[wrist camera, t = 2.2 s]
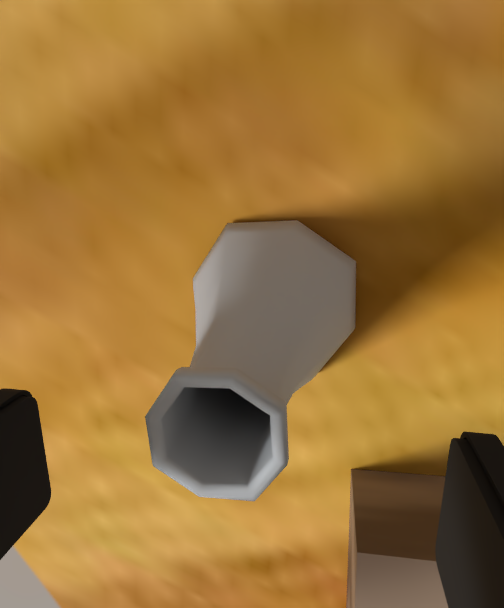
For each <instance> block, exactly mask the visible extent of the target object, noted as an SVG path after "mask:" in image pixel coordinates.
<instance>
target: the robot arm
mask: <svg viewBox="0 0 504 608" xmlns="http://www.w3.org/2000/svg"><path fill="white" fill-rule="evenodd" d="M50 498H51V487H50V481H49V474H48V468H47V462H46V455H45V449H44V443H43V436H42V430H41V423H40V417H39V411H38V404H37V401H36V399H35V398H33V397H32V395H31V394H30V392H28V391H26V390H16V389H1V390H0V560H1V558H2V557H3V556H4V555H5V554H6V553H7V552H8V550H9V549H10V548H11V547H12V546H13V545H14V544H15V543H16V541H17V540H18V539H19V538H20V537H21V536H22V535H23V533H24V532H25V531H26V530H27V529H28V528H29V527H30V526H31V524H32V523H33V522H34V521H35V520H36V519H37V518H38V516H39V515H40V514H41V513H42V512H43V511H44V510H45V508H46V507H47V505H48V503H49V501H50ZM435 554H436V563H437V568H438V571H439V575H440V579H441V582H442V586H443V590H444V593H445V597H446V601H447V604H448V608H504V446H503V445H502V443H501V441H500V440H499V438H498V437H497V436H496V435H493V434H484V433H473V432H463V433H462V435H461V437H460V439H459V438H453V439H452V440H451V444H450V450H449V457H448V463H447V470H446V477H445V484H444V491H443V497H442V504H441V511H440V518H439V525H438V531H437V538H436V546H435Z"/></svg>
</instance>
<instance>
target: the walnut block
mask: <svg viewBox="0 0 504 608" xmlns="http://www.w3.org/2000/svg"><path fill="white" fill-rule="evenodd" d="M445 477H446V476H435V475H422V474H409V473H397V472H384V471H371V470H359V469H351V490H350V520H349V549H348V578H347V607H346V608H448V604H447V601H446V597H445V593H444V590H443V586H442V582H441V579H440V575H439V571H438V568H437V563H436V554H435V546H436V538H437V531H438V525H439V518H440V511H441V504H442V497H443V491H444V484H445Z"/></svg>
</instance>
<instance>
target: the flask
mask: <svg viewBox="0 0 504 608" xmlns="http://www.w3.org/2000/svg"><path fill="white" fill-rule="evenodd" d="M193 289H194V299H195V308H196V348H195V351H194V355H193V358H192V361H191V365H190V367H181V368H179V369H177V370H176V371H175V373H174V374H173V376H172V377H171V379H170V380H169V382H168V383H167V385H166V386H165V388H164V389H163V391H162V392H161V394H160V395H159V397H158V398H157V400H156V401H155V403H154V404H153V405H152V407H151V408H150V410H149V411H148V413H147V415H146V416H145V418H146V425H147V431H148V437H149V444H150V450H151V457H152V463H153V466H154V467H156V468H157V469H159V470H160V471H162V472H163V473H165V474H166V475H168V476H169V477H171V478H172V479H174V480H175V481H177V482H178V483H180V484H181V485H183V486H184V487H186V488H187V489H189V490H190V491H192V492H193V493H195V494H196V495H197V496H199V497H208V498H221V499H233V500H246V501H255V500H256V499H257V498H258V497H259V496H260V494H261V493H262V492H263V491H264V490H265V489H266V488H267V487H268V486H269V484H270V483H271V482H272V481H273V480H274V479H275V478H276V477H277V476H278V474H279V473H280V472H281V471H282V470H283V469H284V468H285V467H286V466H287V463H288V459H289V454H288V431H287V407H286V405H287V403H288V402H289V400H290V398H291V396H292V394H293V393H294V392H295V391H296V390H298V389H299V388H301V387H302V386H303V385H305V384H306V383H308V382H309V381H310V380H312V379H313V378H314V377H315V376H316V375H317V373H318V372H319V371H320V370H321V369H322V367H323V366H324V365H325V364H326V363H327V361H328V360H329V359H330V358H331V357H332V356H333V354H334V353H335V352H336V351H337V350H338V348H339V347H340V346H341V345H342V344H343V342H344V341H345V340H346V339H347V338H348V336H349V335H350V334H351V333H352V332H353V330H354V329H355V315H356V261H355V260H354V259H352V258H351V257H349V256H348V255H346V254H345V253H344V252H342V251H341V250H339V249H338V248H336V247H335V246H334V245H332V244H331V243H329V242H328V241H326V240H325V239H323V238H322V237H321V236H319V235H318V234H316V233H315V232H313V231H312V230H311V229H309V228H308V227H306V226H305V225H303V224H302V223H301V222H299V221H298V220H292V221H268V222H245V223H227V225H226V226H225V228H224V229H223V231H222V233H221V234H220V236H219V237H218V239H217V241H216V242H215V244H214V245H213V247H212V249H211V250H210V252H209V253H208V255H207V257H206V258H205V260H204V261H203V263H202V265H201V266H200V268H199V269H198V271H197V273H196V274H195V276H194V277H193Z"/></svg>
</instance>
